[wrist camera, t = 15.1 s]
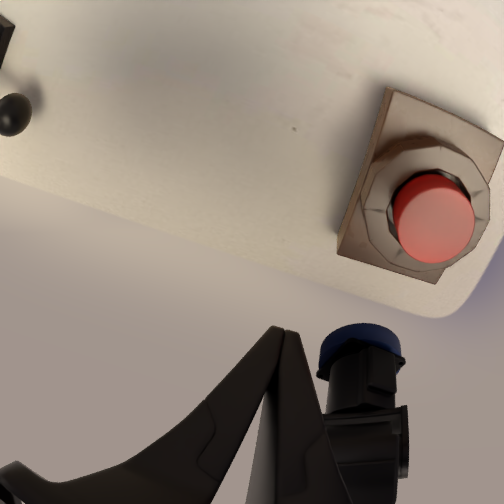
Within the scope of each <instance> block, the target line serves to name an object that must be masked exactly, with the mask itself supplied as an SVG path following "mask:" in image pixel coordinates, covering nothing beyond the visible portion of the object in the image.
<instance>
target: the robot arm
mask: <svg viewBox="0 0 504 504" xmlns="http://www.w3.org/2000/svg"><path fill="white" fill-rule="evenodd" d="M405 364H406V361H405V358H404V357H402V356H399V355H397V354H394V353H392V352H389V351H386V350H384V349H381V348H379V347H376V346H374V345H371V344H369V343H366V342H363V341H361V340H358V339H356V338H348V339H347V340H346V341H345V342H344V343H343V344H342V345H341V346H340V348H339V349H338V350H337V351H336V352H335V353H334V354H333V355H332V356H331V357H330V358H329V359H328V360H327V361H326V362H325V363H324V364H323V366H322V367H321V368H320V369H319V370H318V371H317V372H316V377H317V378H319V379H321V380H324V381H327V382H329V388H328V397H327V405H326V412H325V414H322V412H321V409H320V405H319V401H318V398H317V394H316V391H315V387H314V384H313V380H312V377H311V373H310V370H309V366H308V362H307V359H306V356H305V352H304V348H303V345H302V342H301V338H300V335H299V333H297V332H294V331H290V330H284V329H283V328H280V327H277V326H271V327H270V328H269V329H268V330H267V331H266V332H265V333H264V335H263V336H262V337H261V338H260V339H259V340H258V341H257V342H256V344H255V345H254V346H253V347H252V348H251V349H250V350H249V351H248V352H247V354H246V355H245V356H244V357H243V358H242V359H241V360H240V361H239V363H238V364H237V365H236V366H235V367H234V368H233V369H232V370H231V371H230V372H229V373H228V375H227V376H226V377H225V378H224V379H223V380H222V381H221V382H220V383H219V384H218V385H217V386H216V387H215V388H214V389H213V391H212V392H211V393H210V394H209V395H208V396H207V397H206V398H205V400H203V401H202V402H201V403H200V404H199V405H198V406H197V407H196V408H195V409H194V410H193V411H192V412H191V413H190V414H189V415H188V416H187V417H186V418H185V419H184V420H182V421H181V422H180V423H179V424H178V425H176V426H175V427H174V428H173V429H171V430H170V431H169V432H167V433H166V434H165V435H164V436H162V437H161V438H159V439H158V440H156V441H155V442H154V443H152V444H151V445H150V446H148V447H147V448H145V449H144V450H142V451H141V452H140V453H138V454H137V455H135V456H134V457H132V458H130V459H128V460H127V461H125V462H123V463H121V464H119V465H116V466H114V467H111V468H108V469H105V470H102V471H99V472H96V473H93V474H90V475H87V476H83V477H80V478H77V479H74V480H70V481H67V482H61V483H57V482H50V481H48V480H46V479H44V478H43V477H41V476H40V475H38V474H37V473H35V472H34V471H32V470H31V469H29V468H28V467H26V466H25V465H24V464H22V463H21V462H19V461H15V462H12V463H10V464H8V465H6V466H4V467H2V468H1V469H0V504H22V503H21V501H23V502H24V503H25V504H211V502H212V500H213V498H214V496H215V494H216V492H217V491H218V489H219V487H220V485H221V483H222V481H223V479H224V477H225V475H226V473H227V471H228V469H229V467H230V465H231V463H232V461H233V459H234V457H235V455H236V453H237V451H238V449H239V447H240V445H241V443H242V441H243V439H244V437H245V435H246V433H247V431H248V428H249V426H250V424H251V422H252V420H253V418H254V416H255V414H256V411H257V409H258V407H259V405H260V403H261V401H262V398H263V396H264V401H263V406H262V412H261V418H260V424H259V430H258V436H257V442H256V448H255V454H254V459H253V465H252V471H251V476H250V482H249V487H248V493H247V498H246V503H245V504H395V502H396V496H397V483H398V479H402V478H407V477H408V466H409V428H408V410H407V405H404V406H401V407H397V408H395V393H396V392H397V387H396V372H397V371H398V370H399V369H401V368H402V367H403V366H404V365H405ZM264 394H265V395H264Z"/></svg>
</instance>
